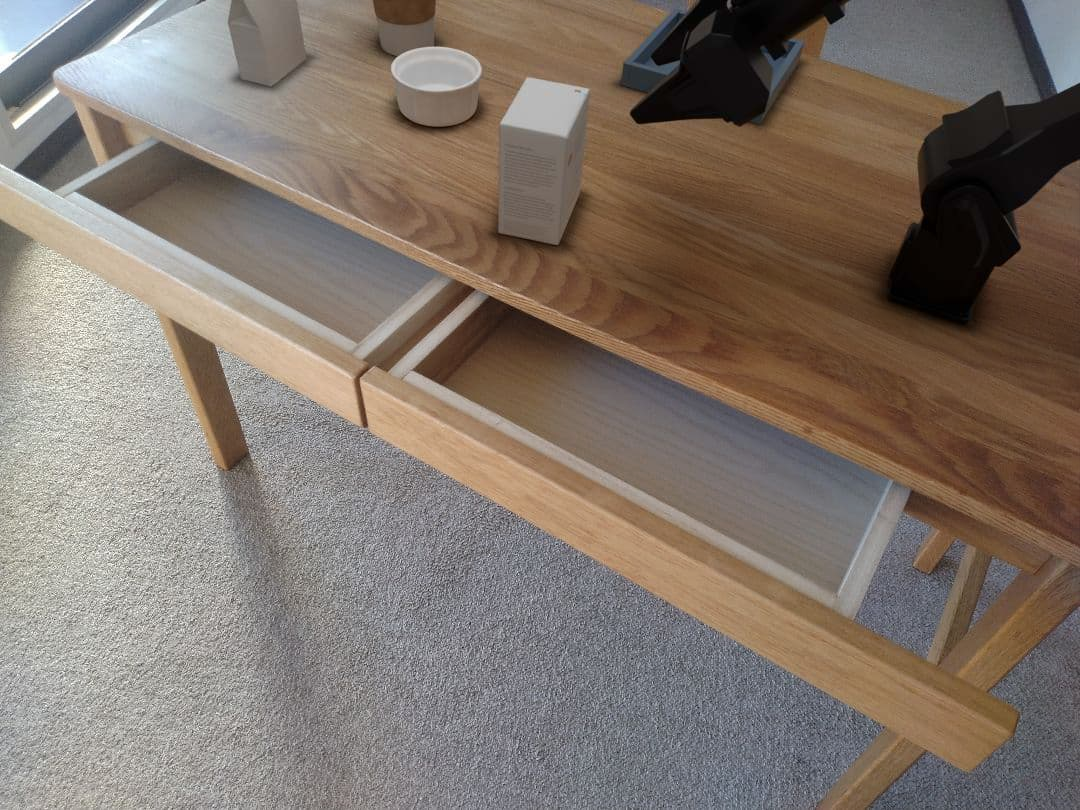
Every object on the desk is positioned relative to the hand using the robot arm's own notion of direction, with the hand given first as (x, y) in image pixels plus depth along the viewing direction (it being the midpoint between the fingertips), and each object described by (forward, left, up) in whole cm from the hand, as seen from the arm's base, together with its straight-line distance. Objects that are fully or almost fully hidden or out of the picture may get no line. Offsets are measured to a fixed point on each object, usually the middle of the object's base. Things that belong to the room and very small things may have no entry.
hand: (644, 87), depth 63 cm
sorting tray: (+2, -31, -13) cm, 34 cm away
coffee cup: (+34, -19, -13) cm, 42 cm away
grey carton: (+43, -7, -13) cm, 46 cm away
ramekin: (+24, -9, -13) cm, 29 cm away
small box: (+7, +2, -13) cm, 15 cm away
